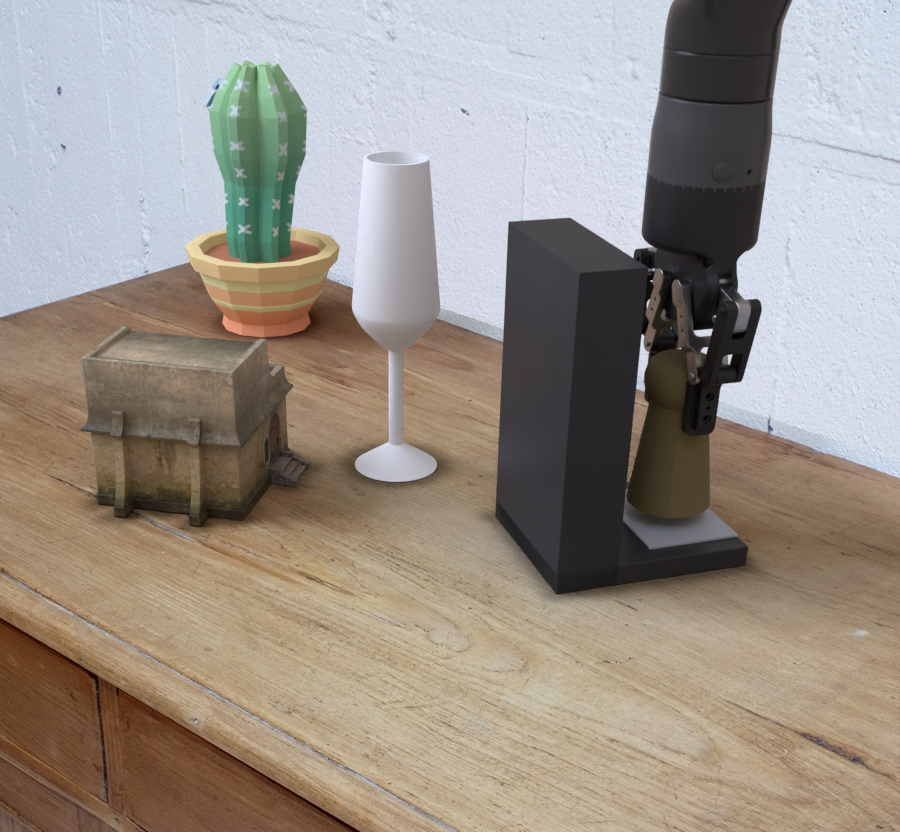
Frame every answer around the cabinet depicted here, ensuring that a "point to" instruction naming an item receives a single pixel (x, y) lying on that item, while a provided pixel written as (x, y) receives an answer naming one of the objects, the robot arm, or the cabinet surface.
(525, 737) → the cabinet surface
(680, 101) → the robot arm
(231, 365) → the miniature house
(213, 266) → the potted cactus
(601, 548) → the coffee maker
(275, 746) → the cabinet surface
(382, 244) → the champagne flute
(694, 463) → the olive pawn figure
